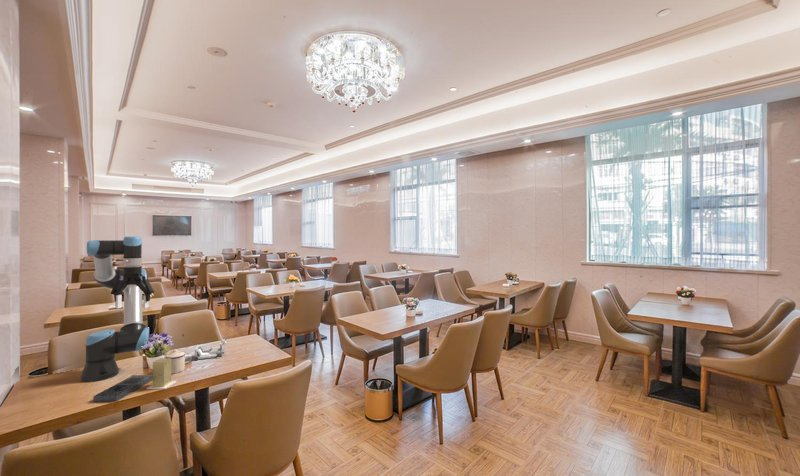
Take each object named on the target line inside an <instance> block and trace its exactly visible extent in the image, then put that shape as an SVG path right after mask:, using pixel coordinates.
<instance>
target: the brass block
mask: <svg viewBox="0 0 800 476" xmlns="http://www.w3.org/2000/svg"><path fill="white" fill-rule="evenodd" d="M152 375H153V380H152V385H153V387H165V386H166V385H168V384H169V383H171V381H172V374H171V358H165V357H164V358H163V357H161V358H158V359H156V360H154V361H152Z"/></svg>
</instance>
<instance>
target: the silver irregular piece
mask: <svg viewBox="0 0 800 476" xmlns="http://www.w3.org/2000/svg"><path fill="white" fill-rule="evenodd" d="M225 344H226V345H227V344H228V342H227V339H226V338H225V339H223V338H222V339H221V341H220V343H219V344H218V346H219V347H220V348H218V349H216V350H213V348H212V347H211V348H210V349H209V350H203V348H202V347H201V346H199V344H196V346H195V348H194V357H192V361H193V362H198V361H199V360H202V359H210V358H212V359H214V358H217V357H221V358H222V357H223V354H225V350H226V349H225V348H222V347H223V346H224V345H225Z"/></svg>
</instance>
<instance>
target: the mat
mask: <svg viewBox="0 0 800 476" xmlns="http://www.w3.org/2000/svg"><path fill="white" fill-rule="evenodd" d="M175 383H177V380H171V383H169V384H168V385H166V386H165V387H153V384H151V385H150V386H148V387H146V390H166V389H168V388H170V387H171V386H172V385H174V384H175ZM167 387H168V388H167Z"/></svg>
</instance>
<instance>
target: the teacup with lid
mask: <svg viewBox="0 0 800 476" xmlns="http://www.w3.org/2000/svg"><path fill="white" fill-rule="evenodd" d="M185 356H186V353H185V352H184V351H179V350H178V349H176V348H175V349H173V351H171V352H170V353H167V354H166V355H165V357H164V358H171V375H173V374H174V375H175V374H179V373H182V372H184V370H185V367H186V366H185V365H186V364H185V363H186V361H185V360H186V359H185Z"/></svg>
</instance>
